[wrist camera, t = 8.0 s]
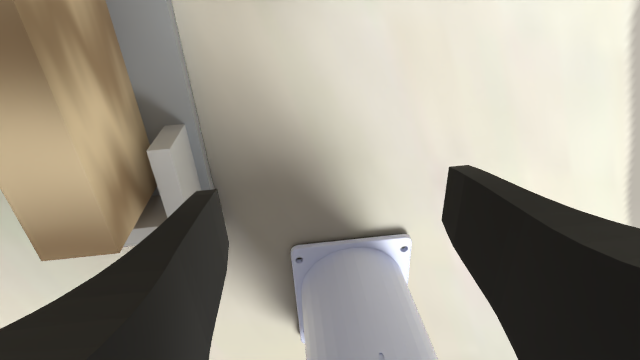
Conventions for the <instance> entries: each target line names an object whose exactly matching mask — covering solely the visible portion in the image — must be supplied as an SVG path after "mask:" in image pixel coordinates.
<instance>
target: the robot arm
mask: <svg viewBox="0 0 640 360" xmlns="http://www.w3.org/2000/svg"><path fill="white" fill-rule="evenodd" d="M442 222H443V225H444V227H445V229H446V232H447V234H448V236H449V238H450V240H451V243H452V245H453V247H454V248H455V250H456V252H457V253H458V255H459V256H460V258H461V260H462V261H463V263H464V264H465V266H466V268H467V269H468V271H469V272H470V274H471V275H472V277H473V278H474V280H475V282H476V283H477V285H478V286H479V288H480V289H481V291H482V292H483V294H484V296H485V297H486V299H487V300H488V302H489V303H490V305H491V307H492V308H493V310H494V312H495V314H496V315H497V317H498V319H499V321H500V323H501V325H502V327H503V329H504V331H505V333H506V335H507V337H508V339H509V341H510V343H511V345H512V347H513V349H514V351H515V353H516V356H517V358H518V360H640V229H639V228H636V227H632V226H628V225H624V224H621V223H617V222H614V221H610V220H607V219H604V218H601V217H598V216H594V215H591V214H588V213H585V212H582V211H579V210H576V209H574V208H571V207H568V206H565V205H563V204H560V203H558V202H555V201H553V200H550V199H547V198H545V197H543V196H540V195H538V194H535V193H533V192H531V191H528V190H526V189H524V188H522V187H519V186H517V185H515V184H513V183H510V182H508V181H506V180H504V179H501V178H499V177H497V176H495V175H492V174H490V173H488V172H485V171H483V170H481V169H478V168H475V167H472V166H469V165H464V166H454V167H449V171H448V178H447V186H446V193H445V200H444V207H443V214H442ZM411 245H412V240H411V238H410V236H409V235H407V234H398V235H388V236H379V237H370V238H360V239H351V240H341V241H332V242H322V243H313V244H304V245H296V246H294V247H292V249H291V260H292V269H293V277H294V286H295V294H296V303H297V311H298V319H299V328H300V336H301V341H302V342H303V343H305V350H306V360H438V358H437V355H436V353H435V350H434V348H433V346H432V343H431V341H430V338H429V336H428V334H427V331H426V329H425V326H424V324H423V321H422V319H421V317H420V314H419V312H418V309H417V307H416V305H415V302H414V300H413V297H412V295H411V293H410V290H409V288H408V277H409V266H410V255H411ZM403 246H405V247H404V248H401V247H403ZM228 247H229V241H228V236H227V232H226V227H225V223H224V219H223V214H222V210H221V205H220V201H219V196H218V192H217V189H212V190H202V191H196V192H195V193H193V194H192V195H191V196H190V197H189V198H188V199H187V200H186V201H185V202H184V203H183V204H182V205H181V206H180V207H179V208H178V209H177V210H176V211H175V212H173V213H172V214H171V215H170V216H169V217H168V218H167V219H166V220H165V221H164V222H163V223H162V224H161V225H160V226H159V227H157V228H156V229H155V230H154V231H153V232H152V233H150V234H149V235H148V236H147V237H146V238H145V239H143V240H142V241H141V242H140V243H139V244H137V245H136V246H135V247H134V248H133V249H132V250H130V251H129V252H128V253H126V254H125V255H124V256H122V257H121V258H120V259H118V260H117V261H116V262H114V263H113V264H111V265H110V266H109V267H107V268H106V269H104V270H103V271H102V272H100V273H99V274H97V275H96V276H94V277H93V278H91V279H89V280H88V281H86V282H84V283H83V284H81V285H79V286H78V287H76V288H75V289H73V290H71V291H70V292H68V293H66V294H65V295H63V296H62V297H60V298H58V299H56V300H55V301H53V302H51V303H49V304H48V305H46V306H44V307H42V308H40V309H38V310H36V311H35V312H33V313H31V314H29V315H27V316H25V317H23V318H21V319H19V320H17V321H15V322H13V323H11V324H9V325H7V326H5V327H3V328H1V329H0V360H209V353H210V347H211V341H212V336H213V331H214V327H215V322H216V317H217V313H218V308H219V304H220V299H221V295H222V290H223V286H224V281H225V276H226V271H227V261H228ZM298 257H301V258H302V259H296V258H298Z"/></svg>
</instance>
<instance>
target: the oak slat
mask: <svg viewBox="0 0 640 360" xmlns="http://www.w3.org/2000/svg"><path fill="white" fill-rule="evenodd" d="M149 147H150V144H149V140H148V137H147V134H146V131H145V127H144V124H143V121H142V118H141V114H140V111H139V108H138V105H137V101H136V98H135V95H134V92H133V88H132V85H131V82H130V79H129V75H128V72H127V69H126V66H125V62H124V59H123V56H122V53H121V49H120V46H119V43H118V40H117V36H116V33H115V30H114V27H113V23H112V20H111V17H110V14H109V10H108V7H107V4H106V1H105V0H0V189H1V191H2V192H3V194H4V196H5V198H6V199H7V201H8V203H9V205H10V206H11V208H12V210H13V212H14V213H15V215H16V217H17V219H18V221H19V222H20V224H21V226H22V228H23V229H24V231H25V233H26V235H27V236H28V238H29V240H30V242H31V243H32V245H33V247H34V249H35V250H36V252H37V254H38V256H39V258H40V259H41V261H48V260H57V259H67V258H76V257H86V256H96V255H105V254H115V253H120V251H121V250H122V248H123V246H124V244H125V242H126V241H127V239H128V237H129V235H130V233H131V232H132V230H133V228H134V226H135V224H136V223H137V221H138V219H139V217H140V215H141V214H142V212H143V210H144V208H145V207H146V205H147V203H148V201H149V199H150V198H151V196H152V194H153V192H154V190H155V189H156V187H157V183H156V180H155V177H154V174H153V171H152V167H151V164H150V161H149V158H148V155H147V152H146V151H147V149H148V148H149Z"/></svg>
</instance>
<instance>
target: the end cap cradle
mask: <svg viewBox="0 0 640 360" xmlns="http://www.w3.org/2000/svg"><path fill="white" fill-rule="evenodd" d="M105 1H106V4H107V7H108V10H109V14H110V17H111V20H112V23H113V27H114V30H115V33H116V36H117V40H118V43H119V46H120V49H121V53H122V56H123V59H124V62H125V66H126V69H127V72H128V75H129V79H130V82H131V85H132V88H133V92H134V95H135V98H136V101H137V105H138V108H139V111H140V114H141V118H142V121H143V124H144V127H145V131H146V134H147V137H148V140H149V144H150V147H149V148H148V149H147V151H146V152H147V155H148V158H149V161H150V164H151V167H152V171H153V174H154V177H155V180H156V183H157V187H156V189H155V190H154V192H153V194H152V196H151V198H150V199H149V201H148V203H147V205H146V207H145V208H144V210H143V212H142V214H141V215H140V217H139V219H138V221H137V223H136V224H135V226H134V228H133V230H132V232H131V233H130V235H129V237H128V239H127V241H126V242H125V244H124V246H123V247H126V246H136V245H137V244H139V243H140V242H141V241H142V240H143V239H145V238H146V237H147V236H148V235H149V234H150V233H152V232H153V231H154V230H155V229H156V228H157V227H159V226H160V225H161V224H162V223H163V222H164V221H165V220H166V219H167V218H168V217H169V216H170V215H171V214H172V213H173V212H175V211H176V210H177V209H178V208H179V207H180V206H181V205H182V204H183V203H184V202H185V201H186V200H187V199H188V198H189V197H190V196H191V195H192V194H193V193H195V192H196V191H202V190H212V189H214V186H213V182H212V177H211V173H210V169H209V164H208V160H207V155H206V151H205V147H204V142H203V138H202V134H201V129H200V125H199V120H198V116H197V112H196V107H195V103H194V98H193V94H192V90H191V85H190V81H189V77H188V72H187V68H186V63H185V59H184V55H183V50H182V46H181V41H180V37H179V33H178V28H177V24H176V20H175V15H174V11H173V6H172V2H171V0H105Z"/></svg>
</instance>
